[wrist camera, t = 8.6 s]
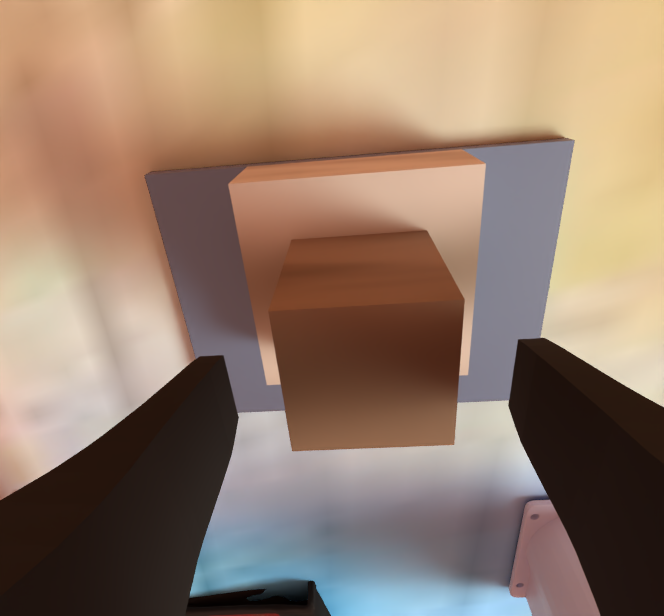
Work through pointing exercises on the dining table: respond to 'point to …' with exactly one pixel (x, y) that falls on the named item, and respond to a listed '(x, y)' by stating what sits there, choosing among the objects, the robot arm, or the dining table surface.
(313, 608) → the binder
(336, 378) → the walnut block
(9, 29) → the dining table surface
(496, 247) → the board
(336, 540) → the dining table surface
